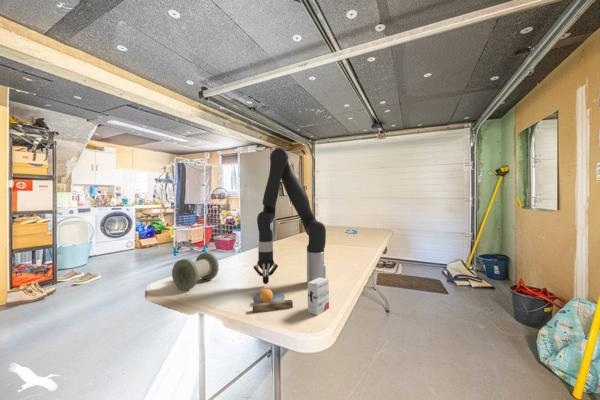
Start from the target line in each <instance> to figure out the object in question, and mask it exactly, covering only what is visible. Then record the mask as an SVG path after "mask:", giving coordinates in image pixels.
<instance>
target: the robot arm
mask: <svg viewBox="0 0 600 400" xmlns="http://www.w3.org/2000/svg"><path fill="white" fill-rule="evenodd" d="M269 159H270V167H269V173H268V178H267V182H266V186H265V189H264V193H263V197H262V205H263V208H262V209H263V210H262V211H261V212H259V213H258V215H257V217H256V222H257V229H258V245H257V246H258V248H257V249H258V252H257V253H258V257H257V258H258V259H257V262H256V264H255V265H253V270H254V271H255V273H257V274H258V275H259V277H262V283H263V284H264V285H268V283H270V281H269V279H270V276H273V274H274V273H275V272H276V270H277V268H278V267H279V265H278V264H277V263H275V260H274V242H273V241H274V236H273V234H274V233H273V231H272V229H271V227H272V226H271V224H272V223H273V222H274V220H275V217H276V205H277V202H278V197H279V192H280V186H281V182H282V185H283V187H284V191H285V192H286V194H287V196H288V199H289V201H290V202H291V204H292V206H293V208H294V209H295V211H296V213H297V214H298V216H299V218H300V221H301V223H302V225H303V229H304V231H305V233H306V235H307V236H308V244H307V245H306V285H308V282H310V281H312V280H315V279H317V278H319V277H320V278H325V279H327V276H326V272H327V271H326V270H327V269H326V267H327V266H326V265H325V248H326V241H327V240H326V239H327V237H326V236H327V233H326V232H327V231H326V230H327V229H326V227H325V226H326V225H325V224H324V223H322V222H321V221H318V220H317V219H316V217H315V214H314V213H313V212H312V208H311V205H310V200H309V196H308V194H307V192H306V190H305V187H304V186H303V184H302V183H301V182H300V179H299V178H298V177H297V175H296V174H295V173H294V171H293V169H292V167H291V165H290V161H289V154H288V152H287V151H286V150H285V149H284V148H275V149H273V150H272V152H271V153H270V156H269ZM260 269H261V270H262V271H260Z"/></svg>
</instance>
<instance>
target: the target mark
mask: <svg viewBox="0 0 600 400" xmlns="http://www.w3.org/2000/svg"><path fill="white" fill-rule="evenodd" d="M271 291H272V293H273V298H272V300H271V301H270V302H275V301H283V300H285V297H286V296H285V294H284V293H282V292H280V291H276V290H275V291H274V290H271ZM260 293H261V292H260ZM260 293H259V292H258V293H257V294H256V295H254V297H253V302H254V303H255V304H258V303H264V302H262V301H261V299H260Z"/></svg>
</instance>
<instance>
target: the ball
mask: <svg viewBox="0 0 600 400" xmlns="http://www.w3.org/2000/svg"><path fill="white" fill-rule="evenodd" d="M272 291H273V290H271V289H269V288H264V289H262V290H261V291H260V299H261V301H262V302H264V303H266V302H270V301H271V300H272V298H273V293H272Z"/></svg>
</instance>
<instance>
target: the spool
mask: <svg viewBox="0 0 600 400" xmlns="http://www.w3.org/2000/svg"><path fill="white" fill-rule="evenodd" d="M219 266H220V265H219V262H218V258H217V257H216V256H215V255H214V254H213V253H211V252H203V253H200V254H198V256H197V257H196V258H195V261H192V260H190V259H189V258H182V259H180V260H177V261H176V262H175V263H174V265H173V267H172V270H171V271H172V272H171V277H172V281H173V283H174V285H175V287H177V288H178V289H179V290H181V289H184V290H183V291H189V290H191V289H193V288H194V287H195V286H197V282H198V280H199V279H201V278H202V279H201V280H203V279H207V280H206V281H210V280H213V279H215V277H216V276H217V275H218V272H219V269H220V267H219Z"/></svg>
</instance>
